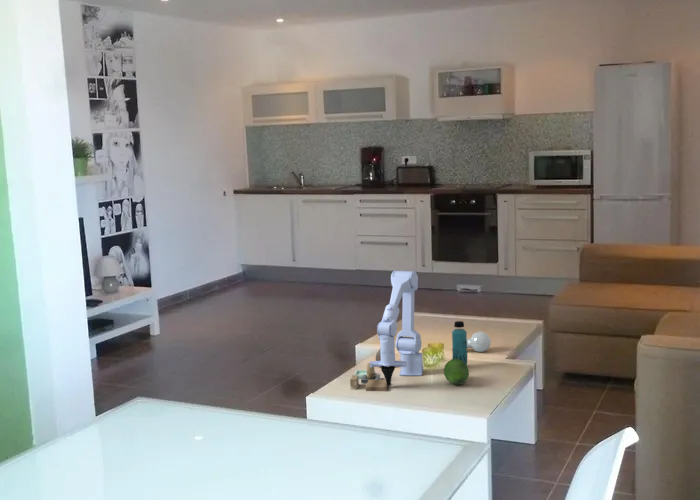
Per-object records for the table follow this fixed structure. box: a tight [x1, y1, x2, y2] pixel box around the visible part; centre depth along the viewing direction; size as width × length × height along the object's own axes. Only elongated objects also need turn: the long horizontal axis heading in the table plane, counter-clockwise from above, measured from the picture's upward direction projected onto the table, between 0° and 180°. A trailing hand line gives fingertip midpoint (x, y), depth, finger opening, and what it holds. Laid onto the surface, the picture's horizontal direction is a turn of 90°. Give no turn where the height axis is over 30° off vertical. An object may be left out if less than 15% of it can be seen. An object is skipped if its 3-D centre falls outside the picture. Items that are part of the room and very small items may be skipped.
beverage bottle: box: [451, 320, 468, 366], centre depth 346 cm, size 6×7×20 cm
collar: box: [360, 374, 381, 384], centre depth 333 cm, size 7×7×2 cm
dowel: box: [365, 362, 376, 379], centre depth 333 cm, size 3×3×7 cm
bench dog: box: [349, 374, 360, 390], centre depth 325 cm, size 2×6×4 cm, turn 171°
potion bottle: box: [467, 331, 492, 353], centre depth 371 cm, size 9×10×15 cm
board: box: [364, 379, 389, 392], centre depth 324 cm, size 8×10×2 cm
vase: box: [375, 348, 381, 368], centre depth 353 cm, size 7×7×9 cm
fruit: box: [443, 358, 470, 385], centre depth 325 cm, size 15×10×10 cm, turn 173°
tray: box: [353, 369, 376, 380], centre depth 340 cm, size 8×8×2 cm
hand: (388, 384), depth 323 cm, fingers closed
